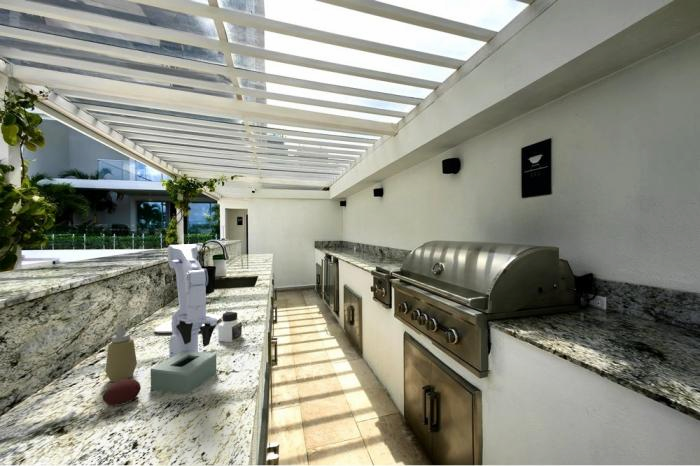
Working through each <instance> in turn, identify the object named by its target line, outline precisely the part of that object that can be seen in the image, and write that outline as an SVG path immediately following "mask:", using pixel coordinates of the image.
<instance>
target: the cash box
mask: <svg viewBox="0 0 700 466" xmlns="http://www.w3.org/2000/svg"><path fill="white" fill-rule="evenodd" d="M176 366H181V367H176ZM217 369H218V367H217V353H213V352H204V351H203V352H195V351H186V350H184V351H182V352H180V353H178V354H177V355H175V356H173V357H171V358H169V359H168V358H167V359H166V360H163V361H162V362H160V363H158V364H157V365H154V366H153V367H151V368H150V390H152V391H153V390H155V391H159V392H166V393H168V392H169V393H175V394H180V395H181V394H182V395H188V394H189V393H190V392H192V391H193V390H195V389H196V388H198V387H199V386H200V385H202V383H204V382H205V381H206V380H208V379H209V378H211V377H212V376H213V375H214V374H216V373H218V371H217Z"/></svg>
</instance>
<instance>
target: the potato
mask: <svg viewBox="0 0 700 466" xmlns="http://www.w3.org/2000/svg"><path fill="white" fill-rule="evenodd" d="M140 391H141V384H140V382H139V381H138V380H136V379H133V378H128V379H124V380H120V381H118V382H113V383H112V384H111V385H109V387H108V388H106V389H105V390H104V392H103V395H102V402H104V403H105V404H106V405H108V406H120V405H124V404H127V403H129V402H131V401H132V400H134V399H135V398H137V397H138V395H139V394H140Z"/></svg>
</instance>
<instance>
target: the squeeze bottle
mask: <svg viewBox="0 0 700 466" xmlns="http://www.w3.org/2000/svg"><path fill="white" fill-rule="evenodd" d="M137 364H138V362H137V355H136V349H135V340H134V339H133V338H131V333H130V332H127V331H126V328H125V326H124V323H119V324H118V326H117V330H116V333H115V334H114V335H112V337H111V342H110V343H109V344H108V347H107V355H106V364H105V374H106V376H107V378H108V379H109V381H110V382H111V383H116V382H118V381H120V380H124V379H131V377H132V376H134V373H135V371H136V370H135V369H136V367H137Z"/></svg>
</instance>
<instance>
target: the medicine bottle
mask: <svg viewBox="0 0 700 466" xmlns="http://www.w3.org/2000/svg"><path fill="white" fill-rule="evenodd" d="M242 325H243V323H242V321H241V320H238V312H237V311H234V310H229V311H226V312H224V313H222V323H220V324H217V332H218V333H217V334H218V337H217V338H218V342H225V343H226V342H227V343H233V342H235V341H236V340H238V339H241V337H243V335H242V334H243V331H242V329H243V328H242V327H243V326H242Z"/></svg>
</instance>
